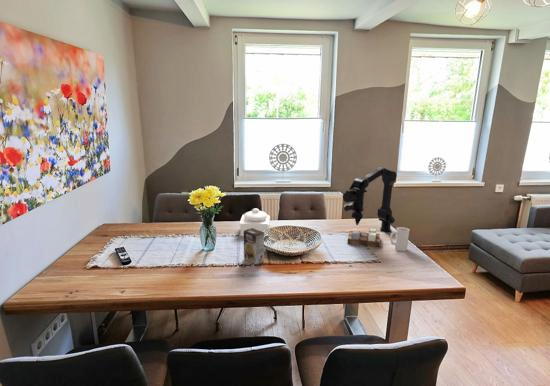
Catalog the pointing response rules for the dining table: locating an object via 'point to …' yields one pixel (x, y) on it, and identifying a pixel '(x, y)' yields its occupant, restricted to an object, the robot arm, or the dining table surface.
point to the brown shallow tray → (364, 240)
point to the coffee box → (253, 245)
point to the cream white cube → (372, 237)
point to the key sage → (372, 231)
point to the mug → (400, 238)
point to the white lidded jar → (254, 221)
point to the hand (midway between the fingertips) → (356, 224)
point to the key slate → (356, 235)
